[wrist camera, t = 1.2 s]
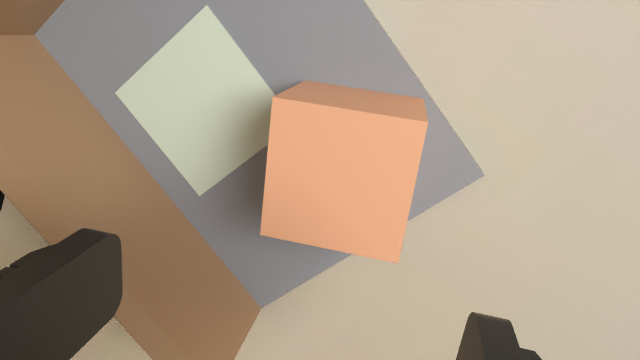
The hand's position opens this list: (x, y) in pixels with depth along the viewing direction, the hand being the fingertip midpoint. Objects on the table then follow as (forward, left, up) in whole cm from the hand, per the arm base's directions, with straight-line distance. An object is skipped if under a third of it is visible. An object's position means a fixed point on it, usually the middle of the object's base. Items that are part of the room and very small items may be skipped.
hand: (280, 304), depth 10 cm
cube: (0, 0, -15) cm, 15 cm away
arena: (+6, +4, -16) cm, 17 cm away
